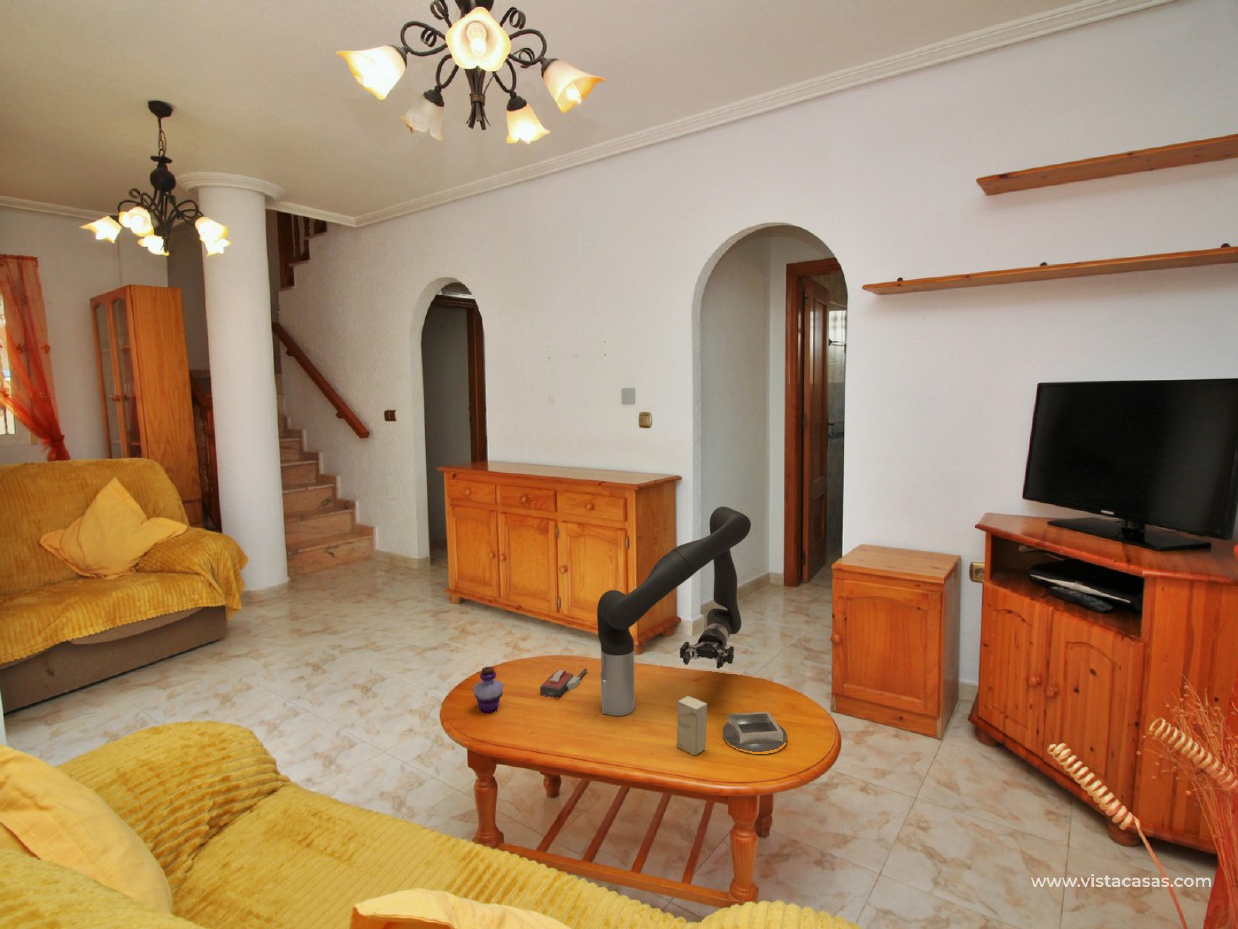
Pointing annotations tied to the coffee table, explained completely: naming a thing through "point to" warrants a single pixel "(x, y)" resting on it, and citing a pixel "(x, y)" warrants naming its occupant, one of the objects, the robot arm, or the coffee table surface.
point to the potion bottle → (488, 691)
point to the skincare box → (691, 725)
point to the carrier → (754, 732)
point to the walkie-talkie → (560, 683)
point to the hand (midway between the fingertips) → (701, 663)
